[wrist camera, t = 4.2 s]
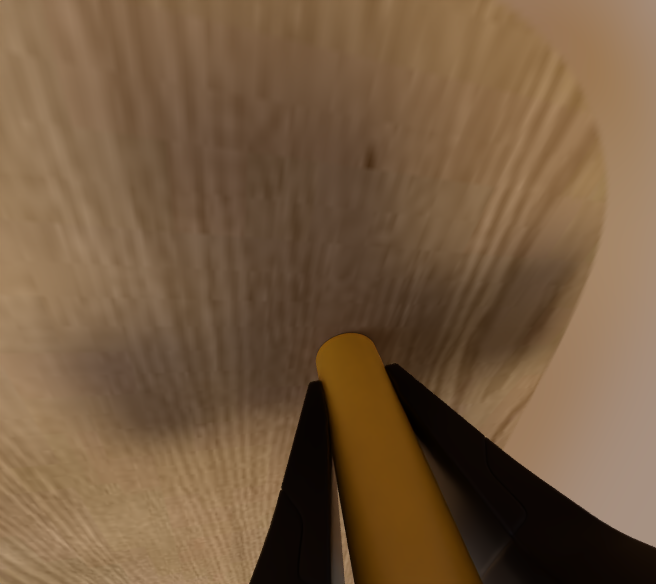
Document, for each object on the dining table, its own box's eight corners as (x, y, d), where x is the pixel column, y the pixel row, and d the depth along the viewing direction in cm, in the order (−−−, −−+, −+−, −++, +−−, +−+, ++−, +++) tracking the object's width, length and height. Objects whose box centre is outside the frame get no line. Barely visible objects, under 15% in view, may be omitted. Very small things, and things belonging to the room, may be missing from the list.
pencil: (374, 326, 10) (613, 807, 3) (376, 369, 11) (545, 778, 4) (311, 338, 10) (404, 885, 3) (320, 382, 11) (399, 830, 4)
